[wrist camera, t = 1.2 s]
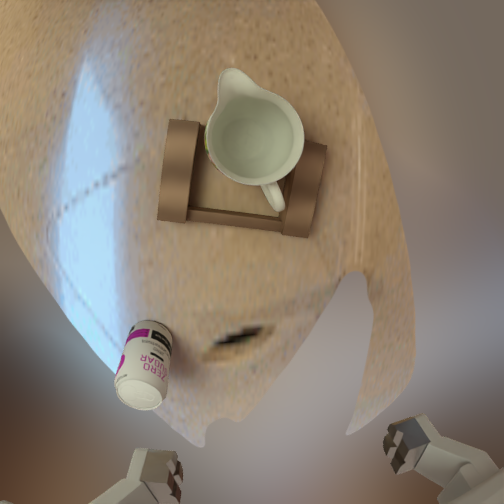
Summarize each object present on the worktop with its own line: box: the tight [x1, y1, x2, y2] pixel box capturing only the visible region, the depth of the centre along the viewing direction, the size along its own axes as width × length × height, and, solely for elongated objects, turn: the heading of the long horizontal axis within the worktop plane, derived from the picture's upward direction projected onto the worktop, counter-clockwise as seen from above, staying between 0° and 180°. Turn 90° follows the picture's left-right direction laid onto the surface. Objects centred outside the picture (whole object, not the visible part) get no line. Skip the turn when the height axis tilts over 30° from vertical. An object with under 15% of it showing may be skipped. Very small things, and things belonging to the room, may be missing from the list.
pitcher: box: [204, 68, 304, 212], centre depth 35 cm, size 11×18×14 cm, turn 23°
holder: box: [157, 119, 327, 238], centre depth 41 cm, size 14×22×4 cm, turn 80°
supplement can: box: [115, 321, 173, 410], centre depth 44 cm, size 8×8×15 cm
